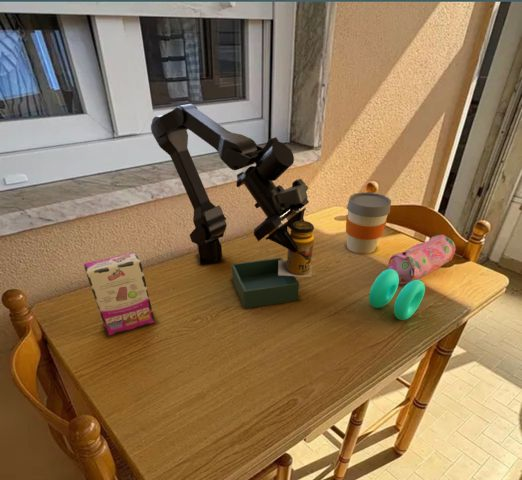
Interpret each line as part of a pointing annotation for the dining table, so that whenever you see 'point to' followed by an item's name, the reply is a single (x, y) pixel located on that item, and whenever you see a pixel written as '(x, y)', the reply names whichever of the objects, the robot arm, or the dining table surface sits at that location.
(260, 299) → the square tray
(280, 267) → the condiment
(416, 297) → the donuts
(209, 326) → the dining table surface
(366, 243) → the reusable coffee cup
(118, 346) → the dining table surface
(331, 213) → the dining table surface
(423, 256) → the pencil case
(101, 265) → the candy bar box
